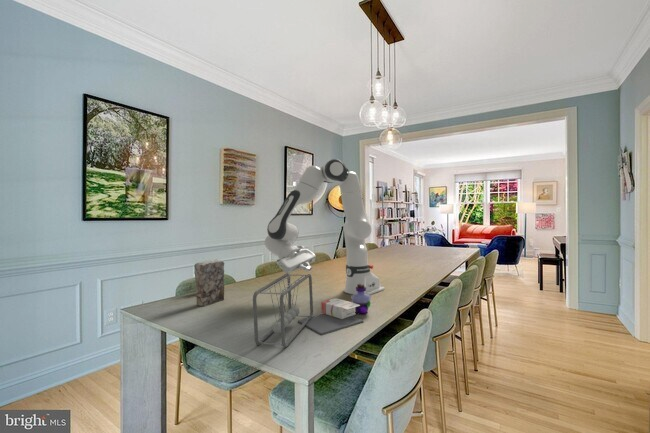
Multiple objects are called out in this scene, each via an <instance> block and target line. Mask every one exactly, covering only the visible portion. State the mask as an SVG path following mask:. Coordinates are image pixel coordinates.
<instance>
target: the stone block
mask: <svg viewBox="0 0 650 433" xmlns="http://www.w3.org/2000/svg"><path fill="white" fill-rule="evenodd" d="M193 268H194V269H193V270H194V271H193V272H194V278H195V297H196V298H195V299H196V305H197V306H200V307H206V306H210V305H212V304H216V303H219V302H221V301H225V269H224V268H225V262H224V261H222V260H219V259H212V260H210V259H209V260H204V261H200V262H196V263H195V264H194V267H193Z"/></svg>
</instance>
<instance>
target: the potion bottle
mask: <svg viewBox="0 0 650 433" xmlns="http://www.w3.org/2000/svg"><path fill="white" fill-rule="evenodd" d="M357 286H358V287H356V291H358V294H351V295H350V298H351V302H353V303H356V304H358V305H360V306H358V307H355V312H356V313H359V314H358V315H360V314H361V315H366V314H365V313H367V314H368V311H369V308H370V307H371V298H372V295H368V294H364V291H366V287H364V284H357ZM356 313H355V314H356Z"/></svg>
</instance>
